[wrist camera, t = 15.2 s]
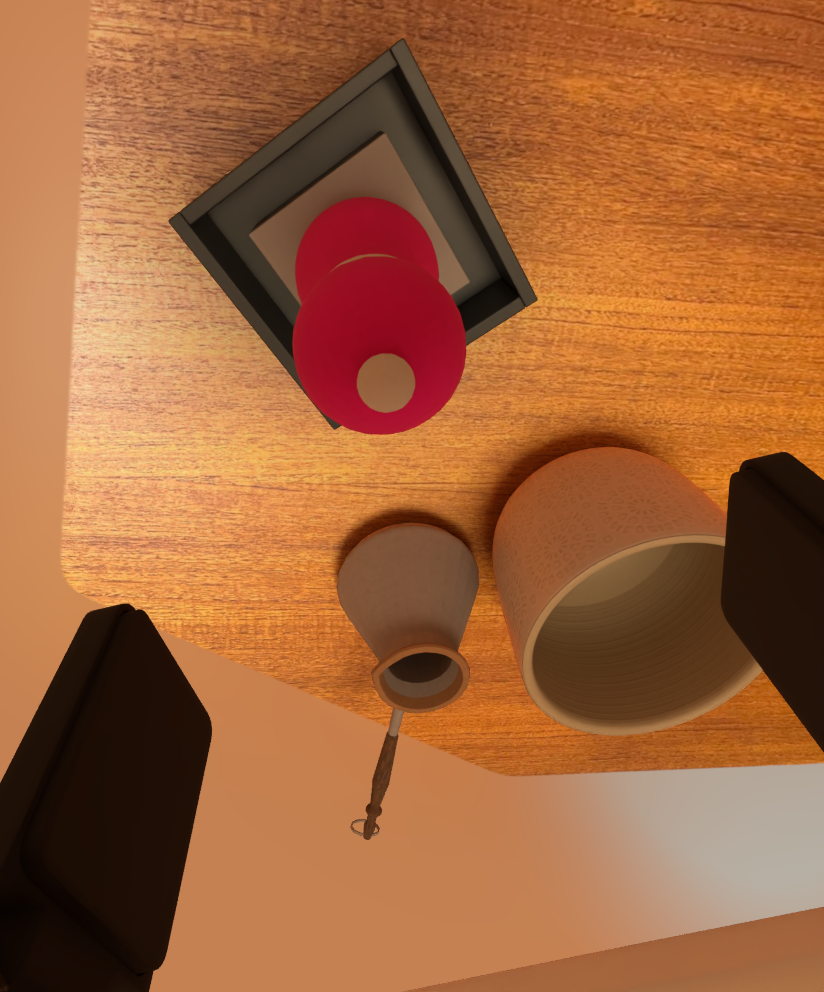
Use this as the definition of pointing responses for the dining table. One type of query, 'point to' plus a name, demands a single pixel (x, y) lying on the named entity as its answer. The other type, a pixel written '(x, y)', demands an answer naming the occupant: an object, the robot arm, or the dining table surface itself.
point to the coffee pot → (409, 625)
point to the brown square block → (354, 176)
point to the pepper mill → (374, 319)
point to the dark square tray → (315, 149)
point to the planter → (617, 594)
